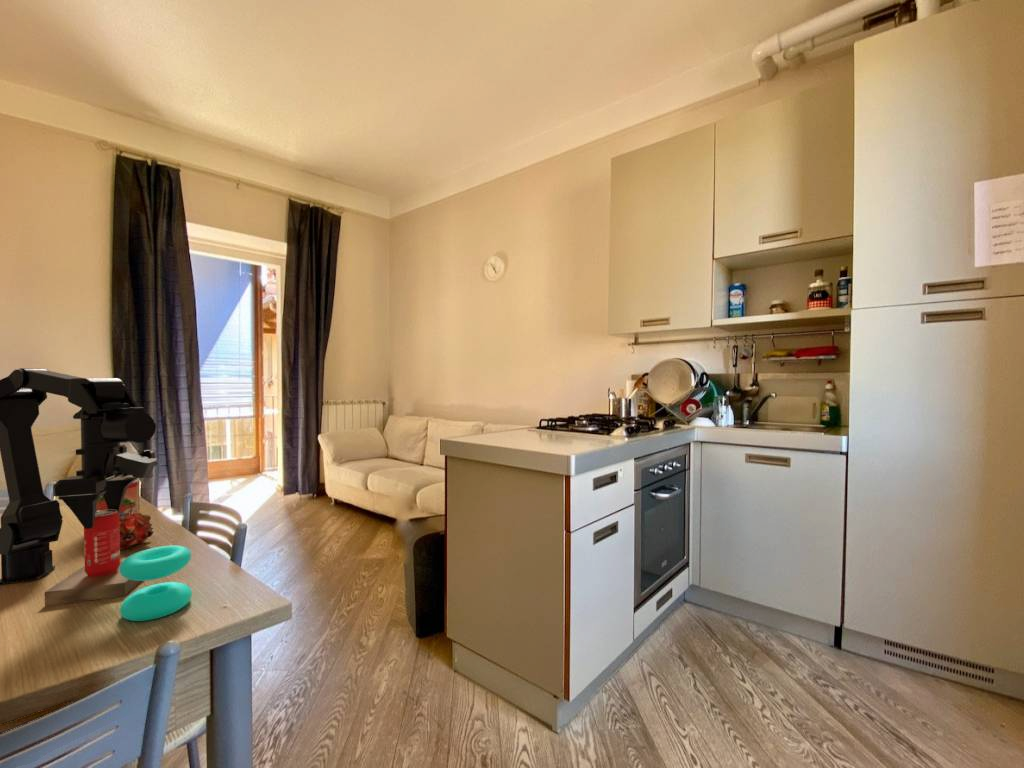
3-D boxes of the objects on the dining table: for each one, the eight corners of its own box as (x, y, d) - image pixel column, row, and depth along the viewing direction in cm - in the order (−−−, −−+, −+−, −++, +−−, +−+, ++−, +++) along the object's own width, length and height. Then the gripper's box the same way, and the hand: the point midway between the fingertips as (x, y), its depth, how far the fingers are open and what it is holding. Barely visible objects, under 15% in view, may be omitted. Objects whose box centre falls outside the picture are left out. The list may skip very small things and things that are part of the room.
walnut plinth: (44, 605, 83) (44, 592, 83) (83, 578, 94) (83, 566, 94) (125, 595, 86) (125, 582, 86) (153, 570, 98) (153, 558, 98)
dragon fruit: (137, 543, 119) (133, 564, 110) (100, 530, 115) (93, 551, 105) (160, 514, 121) (158, 533, 112) (126, 500, 117) (121, 518, 107)
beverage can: (100, 579, 88) (98, 517, 88) (77, 577, 89) (76, 515, 89) (127, 568, 93) (125, 509, 93) (105, 567, 94) (104, 508, 94)
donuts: (183, 558, 79) (109, 568, 75) (184, 616, 79) (110, 630, 75) (196, 539, 88) (130, 548, 84) (197, 592, 88) (131, 602, 84)
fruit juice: (147, 519, 135) (145, 423, 134) (128, 529, 126) (126, 427, 125) (109, 521, 133) (107, 424, 132) (87, 532, 123) (85, 428, 123)
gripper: (127, 446, 84) (128, 531, 84) (168, 434, 101) (170, 505, 102) (50, 449, 80) (51, 538, 80) (107, 437, 98) (108, 510, 98)
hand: (102, 521), depth 90 cm, fingers open, 9 cm apart
